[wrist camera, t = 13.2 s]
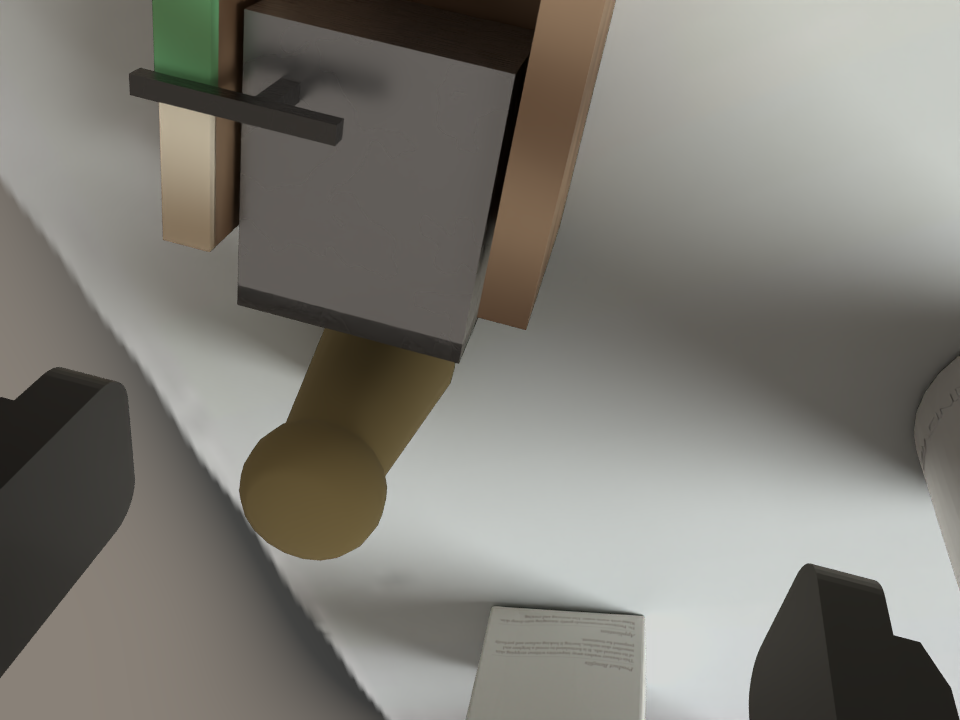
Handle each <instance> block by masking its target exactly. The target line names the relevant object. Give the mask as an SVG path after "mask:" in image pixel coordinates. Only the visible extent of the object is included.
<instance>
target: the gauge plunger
mask: <svg viewBox="0 0 960 720" xmlns="http://www.w3.org/2000/svg"><path fill="white" fill-rule="evenodd" d="M534 33H535V31H533V30H529V29H525V28H520V27H516V26H512V25H508V24H504V23H499V22H495V21H491V20H487V19H482V18H478V17H474V16H470V15H466V14H461V13H457V12H453V11H449V10H444V9H440V8H436V7H432V6H428V5H423V4H419V3H415V2H411V1H406V0H261V1H259V2H257V3H256V4H254V5H252V6H250V7H248V8H246V9H244V43H243V87H242V93H239V92H235V91H231V90H227V89H223V88H219V87H215V86H211V85H207V84H203V83H199V82H195V81H191V80H187V79H183V78H179V77H175V76H171V75H167V74H163V73H159V72H155V71H151V70H147V69H143V68H139V69H137V70H135V71H133V72H131V73H129V82H130V95H133V96H136V97H140V98H144V99H148V100H152V101H156V102H160V103H164V104H168V105H172V106H176V107H180V108H184V109H188V110H192V111H196V112H200V113H204V114H208V115H212V116H216V117H220V118H224V119H228V120H232V121H236V122H240V123H242V130H241V173H240V216H239V259H238V302H237V304H238V305H241V306H245V307H249V308H253V309H256V310H260V311H264V312H267V313H271V314H275V315H279V316H282V317H286V318H290V319H294V320H297V321H301V322H305V323H309V324H312V325H316V326H320V327H324V328H327V329H331V330H335V331H339V332H342V333H346V334H350V335H354V336H357V337H361V338H365V339H369V340H372V341H376V342H380V343H383V344H387V345H391V346H395V347H398V348H402V349H406V350H410V351H413V352H417V353H421V354H425V355H428V356H432V357H436V358H440V359H443V360H447V361H451V362H455V363H458V364H459V362H460V359H461V357H462V355H463V352H464V350H465V348H466V345H467V343H468V340H469V338H470V336H471V333H472V331H473V329H474V326H475V324H476V321H477V319H478V317H477V314H478V309H479V304H480V299H481V294H482V289H483V284H484V279H485V274H486V270H487V265H488V260H489V255H490V250H491V245H492V240H493V235H494V230H495V225H496V220H497V215H498V210H499V205H500V200H501V196H502V191H503V186H504V181H505V176H506V171H507V166H508V161H509V156H510V151H511V146H512V141H513V136H514V131H515V126H516V121H517V117H518V112H519V107H520V102H521V97H522V92H523V87H524V82H525V77H526V72H527V67H528V62H529V57H530V52H531V47H532V42H533V38H534Z"/></svg>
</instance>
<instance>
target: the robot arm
mask: <svg viewBox="0 0 960 720" xmlns="http://www.w3.org/2000/svg"><path fill="white" fill-rule="evenodd" d="M914 438H915V445H916V451H917V455H918V458H919V461H920V464H921V467H922V471H923V474H924V477H925V480H926V484H927V487H928V490H929V493H930V496H931V500H932V503H933V506H934V509H935V513H936V517H937V520H938V523H939V527H940V530H941V533H942V536H943V539H944V542H945V546H946V549H947V552H948V555H949V558H950V561H951V565H952V568H953V571H954V574H955V577H956V581H957V584H958V587H959V590H960V356H958V357H957V358H956V359H955V360H953V361H952V362H951V363H950V364H949V365H948V366H947V367H946V368H945V369H944V370H942V371H941V372H940V373H939V374H938V375H937V377H936V378H935V380H934V381H933V382H932V384H931V385H930V386H929V388H928V389H927V391H926V392H925V393H924V396H923V398H922V401H921V403H920V405H919V408H918V410H917V412H916V419H915V426H914ZM134 483H135V475H134V463H133V451H132V440H131V428H130V417H129V405H128V396H127V392H126V389H125V388H124V386H123V385H122V384H121V383H119V382H116V381H112V380H109V379H104V378H100V377H97V376H93V375H89V374H85V373H82V372H78V371H74V370H70V369H66V368H62V367H56V368H53V369H51V370H49V371H47V372H46V373H45V374H43V375H42V376H41V377H40V378H39V379H38V380H37V381H36V382H34V383H33V384H32V385H31V386H30V387H29V388H28V389H27V390H25V391H24V392H23V393H22V394H21V395H20V396H19V397H18V398H16V399H15V400H10V399H6V398H3V397H1V398H0V678H1V676H2V675H3V674H4V673H5V671H6V670H7V669H8V668H9V666H10V665H11V664H12V662H13V661H14V660H15V658H16V657H17V656H18V655H19V653H20V652H21V651H22V650H23V649H24V647H25V646H26V645H27V643H28V642H29V641H30V640H31V638H32V637H33V636H34V634H35V633H36V632H37V631H38V630H39V628H40V627H41V625H43V623H44V622H45V621H46V619H47V618H48V617H49V616H50V614H51V613H52V612H53V610H54V609H55V608H56V607H57V606H58V604H59V603H60V602H61V600H62V599H63V598H64V597H65V595H66V594H67V593H68V591H69V590H70V589H71V588H72V586H73V585H74V584H75V583H76V582H77V580H78V579H79V578H80V577H81V575H82V574H83V573H84V571H85V570H86V569H87V568H88V566H89V565H90V564H91V563H92V561H93V560H94V559H95V558H96V556H97V555H98V554H99V553H100V551H101V550H102V549H103V547H104V546H105V545H106V544H107V542H108V541H109V540H110V539H111V537H112V536H113V535H114V534H115V532H116V531H117V530H118V528H119V527H120V525H121V524H122V522H123V520H124V518H125V516H126V514H127V512H128V509H129V506H130V503H131V500H132V496H133V492H134ZM749 720H959V716H958V712H957V708H956V705H955V701H954V697H953V694H952V690H951V687H950V686H949V684H948V683H947V681H946V680H945V678H944V677H943V676H942V674H941V673H940V671H939V670H938V668H937V667H936V665H935V664H934V662H933V661H932V659H931V658H930V656H929V655H928V653H927V652H926V650H925V649H924V647H923V646H922V644H921V643H920V642H917V641H913V640H909V639H906V638H902V637H898V636H894V635H893V631H892V627H891V622H890V617H889V613H888V608H887V604H886V599H885V595H884V591H883V589H882V587H881V585H880V584H879V582H877V581H875V580H871V579H868V578H864V577H860V576H856V575H852V574H848V573H844V572H841V571H837V570H833V569H829V568H825V567H821V566H817V565H814V564H805V565H804V566H803V567H802V568H801V569H800V571H799V572H798V574H797V576H796V578H795V580H794V582H793V584H792V586H791V588H790V590H789V592H788V594H787V596H786V598H785V600H784V602H783V604H782V606H781V608H780V610H779V612H778V613H777V615H776V617H775V619H774V621H773V623H772V625H771V627H770V629H769V631H768V633H767V635H766V637H765V639H764V641H763V643H762V645H761V647H760V650H759V652H758V655H757V657H756V660H755V664H754V668H753V672H752V677H751V683H750V691H749Z"/></svg>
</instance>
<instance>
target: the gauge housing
mask: <svg viewBox="0 0 960 720" xmlns="http://www.w3.org/2000/svg"><path fill="white" fill-rule="evenodd" d="M259 1H261V0H152V10H153V40H154V71H155V72H159V73H163V74H167V75H171V76H175V77H179V78H183V79H187V80H191V81H195V82H199V83H203V84H207V85H211V86H215V87H219V88H223V89H227V90H231V91H235V92H239V93H242V87H243V43H244V9H246V8H248V7H250V6H252V5H254V4H256V3H257V2H259ZM406 1H411V2H415V3H419V4H423V5H428V6H432V7H436V8H440V9H444V10H449V11H453V12H457V13H461V14H466V15H470V16H474V17H478V18H482V19H487V20H491V21H495V22H499V23H504V24H508V25H512V26H516V27H520V28H525V29H529V30H533V31H535V33H534V38H533V42H532V47H531V52H530V57H529V62H528V67H527V72H526V77H525V82H524V87H523V92H522V97H521V102H520V107H519V112H518V117H517V121H516V126H515V131H514V136H513V141H512V146H511V151H510V156H509V161H508V166H507V171H506V176H505V181H504V186H503V191H502V196H501V200H500V205H499V210H498V215H497V220H496V225H495V230H494V235H493V240H492V245H491V250H490V255H489V260H488V265H487V270H486V274H485V279H484V284H483V289H482V294H481V299H480V304H479V309H478V314H477V317H478V318H482V319H486V320H490V321H493V322H497V323H501V324H505V325H509V326H512V327H516V328H520V329H524V330H526V328H527V325H528V322H529V319H530V316H531V313H532V310H533V307H534V304H535V301H536V298H537V295H538V292H539V288H540V285H541V282H542V279H543V276H544V273H545V270H546V267H547V264H548V261H549V258H550V255H551V252H552V249H553V245H554V242H555V239H556V236H557V233H558V230H559V227H560V223H561V219H562V215H563V211H564V207H565V203H566V199H567V195H568V191H569V187H570V183H571V179H572V175H573V171H574V167H575V163H576V159H577V155H578V151H579V147H580V143H581V139H582V135H583V131H584V126H585V122H586V118H587V114H588V110H589V106H590V102H591V98H592V94H593V90H594V86H595V82H596V78H597V74H598V70H599V66H600V62H601V58H602V54H603V50H604V46H605V42H606V38H607V34H608V30H609V26H610V22H611V18H612V13H613V9H614V5H615V1H616V0H406ZM159 124H160V156H161V189H162V222H163V240H166V241H170V242H173V243H177V244H181V245H185V246H189V247H192V248H196V249H200V250H204V251H208V252H211V251H212V250H213V249H214V248H215V247H216V246H217V245H218V244H219V243H220V242H221V241H222V240H223V239H224V238H225V237H226V236H227V235H228V234H229V233H230V232H231V231H232V230H234V229H235V228H236V227H237V226H238V225H239V216H240V173H241V130H242V123H240V122H236V121H232V120H228V119H224V118H220V117H216V116H212V115H208V114H204V113H200V112H196V111H192V110H188V109H184V108H180V107H176V106H172V105H168V104H164V103H160V102H159Z"/></svg>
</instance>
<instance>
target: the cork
mask: <svg viewBox="0 0 960 720" xmlns="http://www.w3.org/2000/svg"><path fill="white" fill-rule="evenodd" d="M454 368H455V363H454V362H451V361H447V360H443V359H440V358H436V357H432V356H428V355H425V354H421V353H417V352H413V351H410V350H406V349H402V348H398V347H395V346H391V345H387V344H383V343H380V342H376V341H372V340H369V339H365V338H361V337H357V336H354V335H350V334H346V333H342V332H339V331H335V330H331V329H327V328H325V329H324V331H323V334H322V336H321V339H320V341H319V343H318V346H317V348H316V351H315V353H314V356H313V358H312V360H311V363H310V365H309V368H308V370H307V373H306V375H305V377H304V380H303V382H302V385H301V387H300V390H299V392H298V394H297V397H296V399H295V402H294V404H293V407H292V409H291V411H290V414H289V416H288V419H287V421H286V423H284V424H282V425H281V426H279V427H278V428H276V429H275V430H273V431H271V432H270V433H269V434H267V435H266V436H265V437H263V438H262V439H261V440H260V441H259V442H258V443H257V445H256V446H255V448H254V449H253V450H252V452H251V454H250V455H249V457H248V458H247V460H246V462H245V463H244V466H243V470H242V473H241V479H240V488H239V493H240V498H241V503H242V507H243V510H244V514H245V517H246V518H247V520H248V521H249V523H250V524H251V526H252V527H253V529H254V531H256V532H257V533H258V534H259V535H260V536H261V537H262V538H263V539H264V540H265V541H266V542H267V543H269V544H271V545H272V546H274V547H276V548H277V549H279V550H281V551H282V552H284V553H287V554H290V555H293V556H296V557H299V558H302V559H310V560H327V559H333V558H337V557H340V556H342V555H344V554H346V553H348V552H350V551H352V550H354V549H356V548H358V547H360V546H361V545H362V543H363V542H364V541H365V540H366V539H367V538H368V537H369V535H370V534H371V533H372V532H373V530H374V529H375V528H376V527H377V526H378V523H379V521H380V519H381V516H382V513H383V509H384V505H385V501H386V494H387V484H386V478H385V476H386V474H387V473H388V471H389V470H390V468H391V467H392V466H393V464H394V463H395V461H396V460H397V458H398V457H399V456H400V454H401V453H402V451H403V450H404V448H405V447H406V446H407V444H408V443H409V441H410V440H411V439H412V437H413V436H414V434H415V433H416V431H417V430H418V429H419V427H420V426H421V424H422V423H423V421H424V420H425V419H426V417H427V416H428V414H429V413H430V412H431V410H432V409H433V407H434V406H435V404H436V403H437V402H438V400H439V399H440V397H441V396H442V394H443V393H444V392H445V390H446V389H447V387H448V386H449V384H450V383H451V379H452V375H453V372H454Z"/></svg>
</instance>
